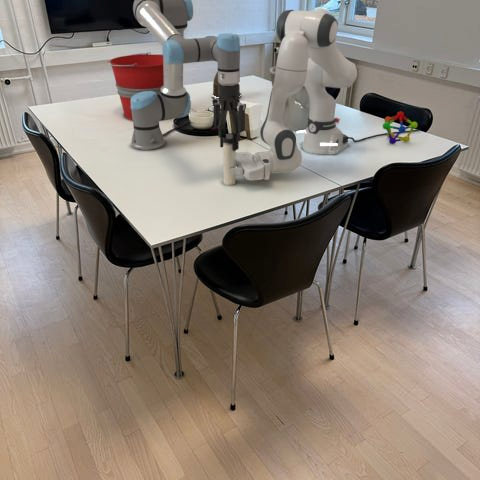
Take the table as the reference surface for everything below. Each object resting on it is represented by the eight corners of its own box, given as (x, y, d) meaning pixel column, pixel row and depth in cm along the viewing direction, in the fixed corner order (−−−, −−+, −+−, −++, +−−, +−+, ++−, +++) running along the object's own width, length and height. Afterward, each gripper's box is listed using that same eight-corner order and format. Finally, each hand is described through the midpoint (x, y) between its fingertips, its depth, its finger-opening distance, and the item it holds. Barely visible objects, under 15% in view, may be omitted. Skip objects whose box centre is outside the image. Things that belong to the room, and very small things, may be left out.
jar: (235, 185, 170) (235, 141, 161) (223, 185, 170) (222, 141, 160) (235, 179, 174) (235, 136, 165) (223, 180, 174) (222, 136, 164)
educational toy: (377, 146, 209) (379, 114, 202) (384, 138, 219) (386, 107, 211) (411, 149, 202) (415, 116, 195) (417, 141, 212) (420, 109, 204)
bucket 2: (296, 138, 215) (301, 78, 201) (255, 124, 234) (256, 68, 219) (335, 125, 232) (342, 70, 217) (294, 113, 251) (297, 61, 236)
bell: (227, 105, 294) (202, 96, 282) (238, 66, 289) (213, 55, 277) (243, 108, 280) (217, 98, 268) (255, 66, 275) (229, 55, 263)
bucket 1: (123, 105, 263) (116, 51, 247) (182, 106, 262) (179, 52, 247) (107, 123, 234) (97, 63, 218) (173, 124, 233) (168, 64, 217)
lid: (237, 143, 161) (237, 138, 160) (223, 144, 160) (223, 139, 159) (234, 138, 166) (234, 133, 165) (221, 139, 165) (221, 134, 164)
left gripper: (201, 81, 154) (204, 145, 166) (243, 89, 145) (243, 156, 157) (215, 77, 159) (216, 140, 171) (256, 85, 150) (255, 150, 162)
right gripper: (252, 146, 179) (219, 150, 175) (271, 165, 162) (235, 169, 158) (252, 161, 182) (220, 165, 178) (270, 181, 165) (235, 185, 162)
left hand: (229, 147), depth 164 cm, fingers closed on lid, 5 cm apart
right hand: (227, 167), depth 168 cm, fingers closed on jar, 5 cm apart
